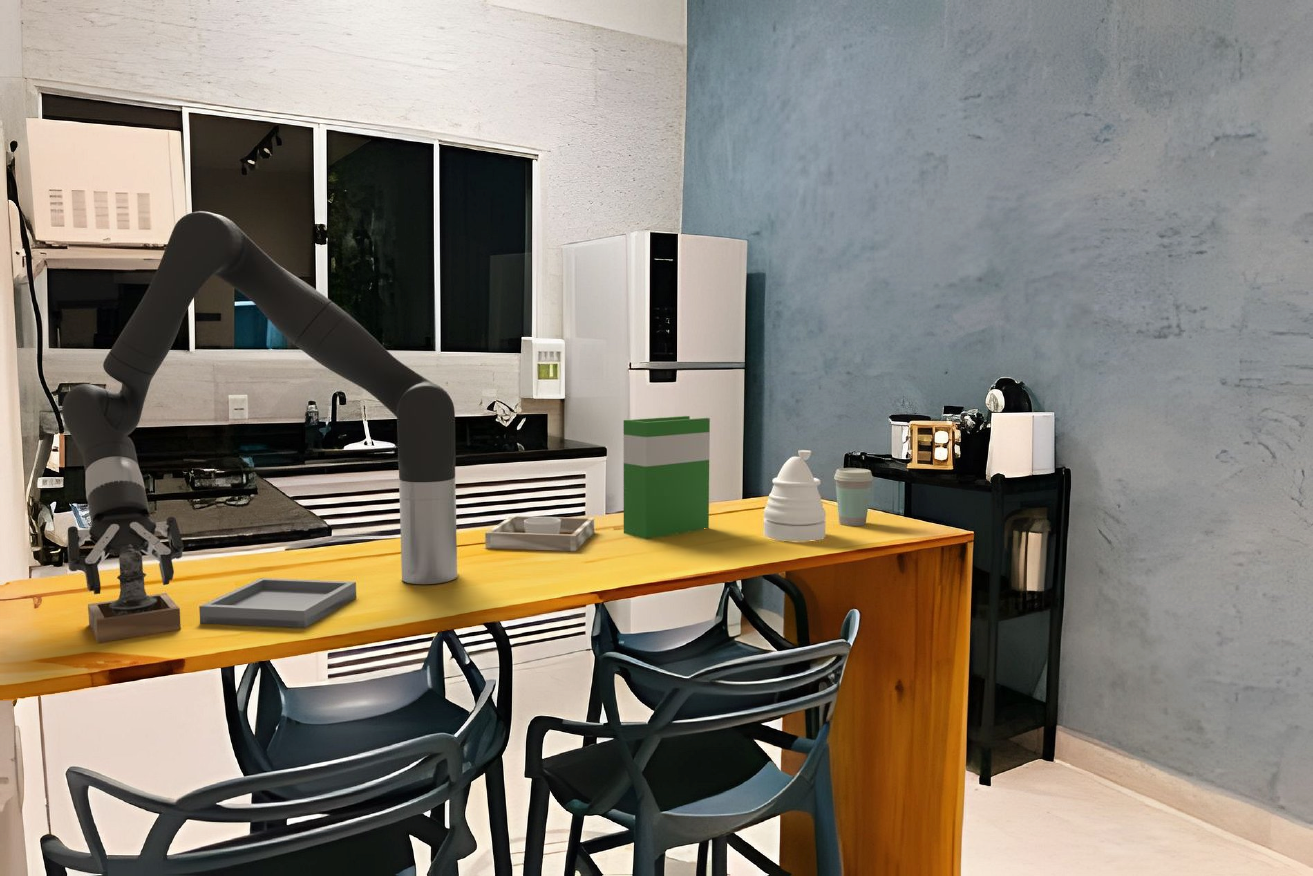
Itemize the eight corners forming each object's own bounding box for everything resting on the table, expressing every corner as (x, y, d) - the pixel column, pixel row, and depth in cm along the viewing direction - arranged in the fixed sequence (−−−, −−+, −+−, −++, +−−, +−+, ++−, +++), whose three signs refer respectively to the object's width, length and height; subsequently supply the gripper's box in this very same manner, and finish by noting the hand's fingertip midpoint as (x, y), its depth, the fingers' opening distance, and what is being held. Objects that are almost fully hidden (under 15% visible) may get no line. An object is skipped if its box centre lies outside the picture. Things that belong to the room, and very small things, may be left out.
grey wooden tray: (512, 529, 200) (511, 515, 200) (594, 532, 198) (594, 518, 198) (485, 548, 183) (485, 532, 182) (575, 551, 180) (575, 535, 180)
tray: (261, 593, 149) (261, 578, 149) (356, 597, 147) (355, 581, 147) (200, 623, 134) (199, 606, 133) (304, 628, 132) (304, 610, 131)
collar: (89, 624, 133) (87, 604, 132) (167, 612, 139) (166, 592, 138) (98, 643, 125) (96, 621, 125) (180, 629, 131) (179, 608, 131)
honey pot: (834, 533, 197) (836, 449, 196) (811, 545, 186) (813, 455, 185) (777, 527, 204) (779, 445, 202) (753, 538, 193) (754, 451, 191)
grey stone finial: (143, 618, 136) (138, 537, 135) (166, 625, 133) (162, 542, 132) (101, 629, 131) (96, 545, 130) (125, 636, 128) (120, 550, 127)
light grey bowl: (564, 548, 183) (564, 525, 183) (513, 548, 183) (513, 525, 183) (570, 538, 193) (569, 515, 192) (522, 537, 193) (521, 515, 193)
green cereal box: (686, 523, 208) (686, 416, 206) (708, 528, 203) (709, 418, 200) (623, 533, 197) (623, 420, 194) (645, 539, 191) (645, 422, 189)
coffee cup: (866, 519, 213) (867, 467, 211) (876, 527, 204) (878, 473, 203) (829, 520, 212) (830, 467, 211) (837, 527, 204) (838, 473, 203)
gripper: (60, 483, 132) (74, 579, 124) (172, 475, 140) (191, 564, 132) (59, 514, 137) (72, 609, 129) (167, 504, 145) (186, 592, 137)
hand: (133, 586), depth 130 cm, fingers open, 8 cm apart
